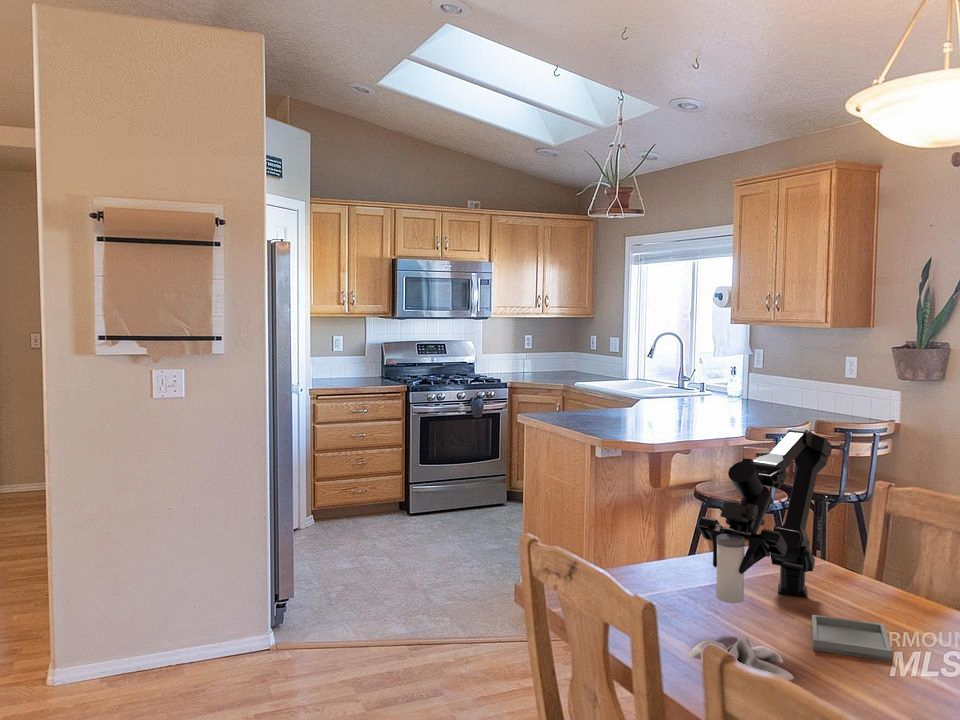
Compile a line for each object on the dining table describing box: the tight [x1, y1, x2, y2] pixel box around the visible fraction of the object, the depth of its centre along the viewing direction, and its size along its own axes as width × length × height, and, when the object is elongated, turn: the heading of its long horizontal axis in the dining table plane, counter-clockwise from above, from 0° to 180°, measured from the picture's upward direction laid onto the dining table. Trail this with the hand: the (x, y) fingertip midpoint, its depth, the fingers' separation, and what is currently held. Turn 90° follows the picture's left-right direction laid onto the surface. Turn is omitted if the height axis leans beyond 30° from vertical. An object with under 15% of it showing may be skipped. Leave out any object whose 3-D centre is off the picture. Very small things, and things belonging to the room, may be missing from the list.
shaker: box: [715, 534, 746, 604], centre depth 166 cm, size 6×6×13 cm
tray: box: [811, 614, 893, 663], centre depth 160 cm, size 14×14×2 cm
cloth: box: [688, 635, 794, 682], centre depth 149 cm, size 22×19×6 cm
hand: (727, 569), depth 165 cm, fingers closed on shaker, 6 cm apart
